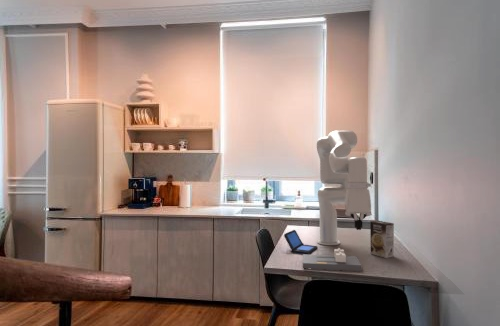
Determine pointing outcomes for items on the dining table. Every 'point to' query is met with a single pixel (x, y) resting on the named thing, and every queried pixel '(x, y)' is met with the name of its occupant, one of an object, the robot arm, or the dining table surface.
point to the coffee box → (382, 238)
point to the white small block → (340, 257)
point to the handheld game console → (298, 244)
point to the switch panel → (331, 263)
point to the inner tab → (338, 251)
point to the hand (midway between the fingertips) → (358, 229)
